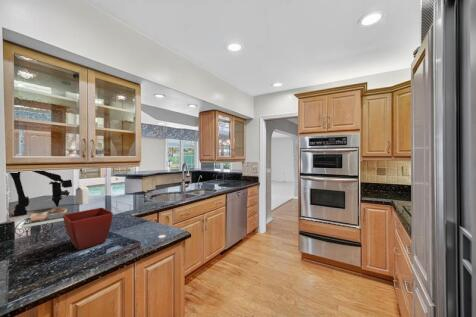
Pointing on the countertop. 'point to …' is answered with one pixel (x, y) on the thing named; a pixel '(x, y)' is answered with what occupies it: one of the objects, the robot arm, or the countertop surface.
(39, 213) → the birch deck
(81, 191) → the milk carton
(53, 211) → the walnut tile
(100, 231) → the plant pot
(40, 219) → the terracotta tile
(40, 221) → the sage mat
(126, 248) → the countertop surface
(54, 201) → the robot arm
